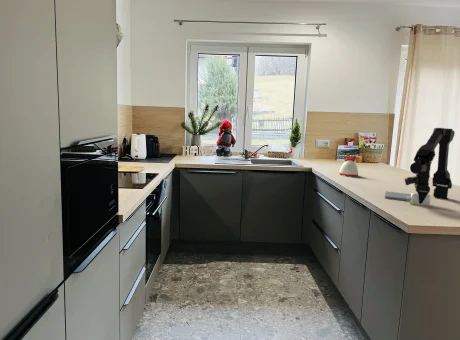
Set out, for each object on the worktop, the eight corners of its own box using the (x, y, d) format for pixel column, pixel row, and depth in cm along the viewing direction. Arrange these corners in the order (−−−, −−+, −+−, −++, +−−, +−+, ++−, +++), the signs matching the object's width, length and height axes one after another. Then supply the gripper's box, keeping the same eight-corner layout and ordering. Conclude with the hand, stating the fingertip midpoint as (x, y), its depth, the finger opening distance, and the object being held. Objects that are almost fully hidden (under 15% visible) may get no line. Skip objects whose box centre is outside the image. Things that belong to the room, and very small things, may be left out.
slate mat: (415, 196, 209) (415, 194, 209) (417, 202, 195) (417, 199, 194) (385, 193, 215) (385, 191, 215) (384, 198, 201) (385, 196, 201)
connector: (429, 204, 191) (430, 195, 190) (429, 205, 187) (430, 196, 186) (406, 201, 195) (407, 192, 194) (406, 203, 191) (407, 193, 191)
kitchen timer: (359, 177, 274) (361, 157, 272) (340, 176, 276) (342, 156, 274) (356, 174, 288) (357, 155, 285) (338, 173, 290) (339, 154, 288)
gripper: (405, 168, 200) (402, 196, 202) (406, 173, 183) (403, 203, 185) (428, 170, 195) (425, 199, 198) (431, 175, 178) (428, 206, 181)
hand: (419, 201), depth 190 cm, fingers open, 9 cm apart
